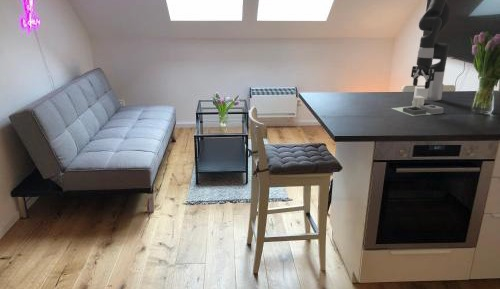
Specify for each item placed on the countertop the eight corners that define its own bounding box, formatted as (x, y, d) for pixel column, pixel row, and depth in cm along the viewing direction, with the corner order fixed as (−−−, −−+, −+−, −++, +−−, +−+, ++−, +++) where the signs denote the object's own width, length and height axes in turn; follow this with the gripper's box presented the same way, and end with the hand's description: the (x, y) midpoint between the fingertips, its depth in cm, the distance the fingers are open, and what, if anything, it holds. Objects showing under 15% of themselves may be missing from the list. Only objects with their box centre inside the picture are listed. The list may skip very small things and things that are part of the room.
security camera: (426, 106, 230) (428, 88, 227) (413, 105, 231) (415, 88, 228) (423, 103, 236) (426, 86, 233) (411, 103, 237) (413, 86, 234)
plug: (417, 106, 225) (419, 95, 223) (423, 108, 221) (424, 97, 219) (410, 107, 223) (412, 96, 221) (416, 108, 220) (417, 98, 218)
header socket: (415, 110, 217) (416, 106, 216) (425, 113, 210) (426, 109, 210) (402, 111, 214) (403, 107, 213) (412, 114, 207) (413, 111, 207)
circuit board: (419, 107, 227) (421, 100, 226) (443, 114, 212) (444, 107, 211) (390, 110, 221) (391, 102, 219) (412, 117, 206) (413, 110, 204)
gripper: (441, 57, 208) (436, 89, 213) (421, 54, 221) (416, 84, 226) (429, 58, 206) (424, 89, 211) (410, 55, 218) (405, 85, 224)
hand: (420, 87), depth 219 cm, fingers open, 8 cm apart
